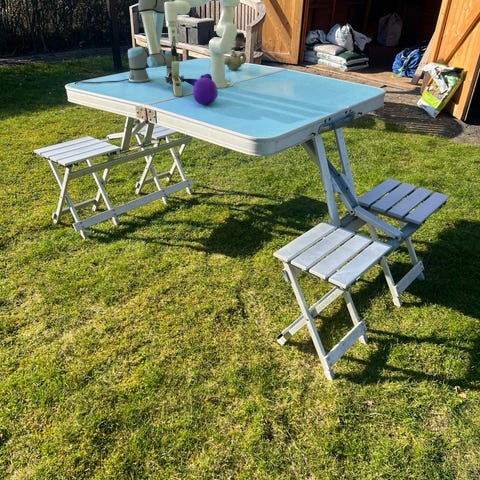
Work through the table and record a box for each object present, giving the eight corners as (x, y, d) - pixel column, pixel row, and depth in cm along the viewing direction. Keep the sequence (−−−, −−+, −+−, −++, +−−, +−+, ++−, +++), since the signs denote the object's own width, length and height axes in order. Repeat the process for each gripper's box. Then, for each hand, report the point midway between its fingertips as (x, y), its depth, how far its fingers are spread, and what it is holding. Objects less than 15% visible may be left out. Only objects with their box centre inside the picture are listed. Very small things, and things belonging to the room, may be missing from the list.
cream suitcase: (182, 95, 293) (181, 81, 289) (175, 96, 292) (174, 81, 288) (180, 90, 308) (178, 76, 303) (173, 91, 307) (172, 77, 303)
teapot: (226, 72, 363) (226, 52, 355) (220, 70, 372) (219, 50, 364) (249, 69, 372) (249, 50, 365) (242, 67, 381) (241, 48, 373)
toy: (205, 96, 290) (217, 110, 270) (179, 91, 283) (189, 106, 262) (211, 71, 282) (224, 84, 262) (184, 66, 275) (195, 79, 254)
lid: (179, 62, 286) (177, 50, 287) (172, 63, 285) (170, 50, 286) (178, 76, 303) (177, 64, 304) (172, 77, 302) (170, 65, 303)
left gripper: (186, 81, 324) (190, 87, 304) (161, 82, 321) (163, 89, 301) (185, 70, 320) (189, 76, 300) (160, 71, 317) (162, 77, 297)
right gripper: (179, 24, 273) (181, 57, 283) (176, 22, 287) (178, 53, 296) (167, 25, 272) (169, 57, 281) (164, 23, 285) (167, 54, 295)
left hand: (176, 82), depth 301 cm, fingers closed on cream suitcase, 5 cm apart
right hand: (174, 55), depth 288 cm, fingers closed, pressing on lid
